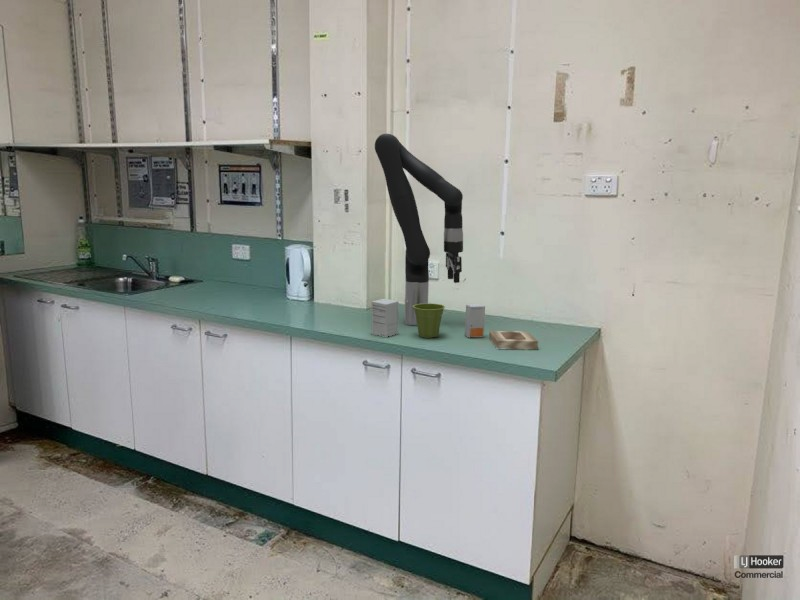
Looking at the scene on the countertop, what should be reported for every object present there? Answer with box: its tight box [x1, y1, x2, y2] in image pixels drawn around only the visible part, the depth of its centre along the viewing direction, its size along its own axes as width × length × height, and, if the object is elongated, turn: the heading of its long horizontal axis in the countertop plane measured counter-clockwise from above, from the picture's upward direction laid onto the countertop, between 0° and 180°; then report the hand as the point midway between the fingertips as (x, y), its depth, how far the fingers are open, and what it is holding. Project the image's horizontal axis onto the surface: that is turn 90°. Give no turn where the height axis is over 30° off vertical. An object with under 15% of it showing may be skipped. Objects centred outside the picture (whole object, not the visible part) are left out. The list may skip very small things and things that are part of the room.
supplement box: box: [371, 298, 400, 338], centre depth 215 cm, size 7×7×13 cm
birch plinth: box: [488, 330, 539, 350], centre depth 206 cm, size 14×14×3 cm
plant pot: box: [413, 302, 446, 339], centre depth 214 cm, size 12×12×11 cm
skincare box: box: [464, 303, 486, 339], centre depth 214 cm, size 6×4×12 cm
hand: (453, 280), depth 229 cm, fingers open, 8 cm apart
